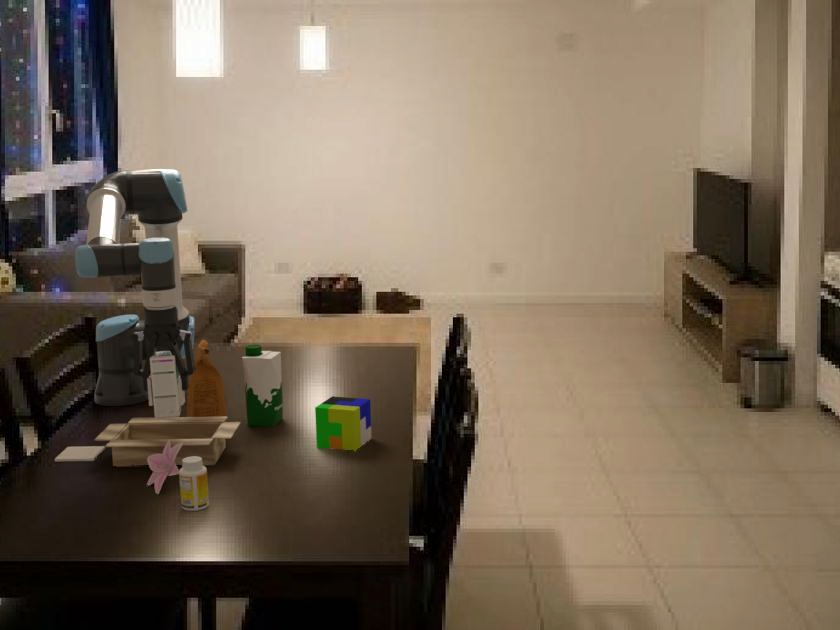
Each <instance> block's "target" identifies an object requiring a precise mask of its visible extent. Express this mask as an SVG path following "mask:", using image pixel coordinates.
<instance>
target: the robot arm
mask: <svg viewBox="0 0 840 630" xmlns="http://www.w3.org/2000/svg"><path fill="white" fill-rule="evenodd" d="M86 200H87V201H86V209H87V212H88V214H89V217H88V228H87V236H86V237H87V238H86V244H84V245H79V246H77V247H75V251H74V252H75V253H74V254H75V255H74V259H75V267H76V269H75V270H76V272H77V276H79V277H81V278H93V279H97V278H104V277H105V278H106V277H121V276H122V277H123V276H127V277H128V276H140V277H141V279H140V280H141V294H142V304H143V307H144V308H143V319H140V318H139V316H138V315H137V314H133V313H132V314H123V315H117V316H111V317H109V318H106V319H104V320H101V321H100V322H98V323H97V325H96V326H95V327H96V328H95V342H96V347H97V363H98V378H97V382H96V386H95V390H94V402H95V404H97V405H100V406H105V407H123V406H129V405H131V406H132V405H137V404H140V403H144V402H146V401H148V406H149V407H154V403H153V391H152V380H151V368H150V357H152V356H153V355H154V354H155V353H156V352H159V351H170V352H171V354H172V355H174V356H175V362H176V366H177V369H178V374H179V377H178V378H177V380H178V394H179V405H181V406H184V404H185V403H186V393H185V392H186V391H188V386H189V376H191V375H192V374H193V373H194V372H195V370H196V369H195V362H194V360H195V357H194V344H195V343H194V342H195V341H194V340H195V317H194V316H191V315H190V312H189V310H188V309H187V307H185V306H184V305H183V291H182V290H183V288H182V274H181V264H180V263H181V262H180V259H181V258H180V248H179V247H180V246H179V232H178V231H179V230H178V225H179V224H180V223H181V221H183V214H186V213H187V212H188V205H187V201H186V193H185V190H184V185H183V178H182V175H181V173H180V172H179V171H178V170H176V169H164V168H155V169H152V168H151V169H136V170H135V169H134V170H119V171H114V172H112V173H109V174H107V175H106V176H104V177H103V178H101V179H100V180H98V181H97V183H95V184H94V185H93V187H91V190H90V191H89V193H88V195H87V199H86ZM126 215H129V216H132V215H133V216H136V215H137V221H138V222H139V223H140V224H141V225H142V226H143V227H144V235H145V238H144V239H142V240H140V241H139V242H128V243H120V242H121V240H120V239H121V222H122V221H121V220H122V216H126ZM184 359H185V361H184ZM143 362H145V363H144V367H143ZM185 362H186V364H185Z"/></svg>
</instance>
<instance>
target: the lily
mask: <svg viewBox="0 0 840 630" xmlns="http://www.w3.org/2000/svg"><path fill="white" fill-rule="evenodd" d="M182 445H183V442H181V443H178V444H176V445H175V446H173V447H172V448H171V444H170V440H168V442H167V444H166V446H165V448H164V450H163V453H162V454H153V455H151V456H149V457H148V458H147V462H148V465H149V466H148V467H149V469H150V470H151V471H152V474H151V475H150V477H149V479H148V481H147V483H146V486H147V485H148V486H147V487H149V486H151V485H153V484H154V492H155V494H156V493H157V494H158V495H159V494H160V492H161V489H162V487H163V484H164V482H165V480H166V478H167V477H169V476H176V475H178V476H179V470H180V469H179V468H178V466H176V464H175V462H174V460H175V457H176V455H177V453H178V452H179V450H180V448H181V446H182ZM173 462H174V463H173Z"/></svg>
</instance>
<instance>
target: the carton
mask: <svg viewBox="0 0 840 630" xmlns="http://www.w3.org/2000/svg"><path fill="white" fill-rule="evenodd" d="M227 420H228V416H227V415H226V417H187V416H181V417H180V416H179V417H168V418H155V417H132V418H131V419H130V420H129V421H128V422H127V423H109V424H108V425H107V426H106V427H105V429H104V430H102V431H101V432H100V433H99V435H97V436H96V438H94V441H95V442H96V441H98V442H103V441H104V442H105V441H107V442H108V441H109V442H108V443H106V445H105V448H111V455H112V456H111V457H112V467H113V466H116V467H132V466H131V465H135V466H134V467H139V466H138V465H148V462H147V458H148V457H149V456H151V455H153V454H162V453H163V450H164V448H165V446H166V444H167V442H168V440H170V444H171V448H172V447H173V446H175V445H176V444H178V443H181V442H183V445H182V446H181V448H180V450H179V452H178V453H177V455H176V457H175V460H174V462H175V464H176V465H182V460H183V459H184V458H186V457H190V456H198V457H201V458H202V463H203V466H215V465H216V463H217V461H218V460H219V459H220V457H221V455H222V454H223V452H224V450H225V448H226V447H227V444H226V440H228V439H229V440H231V439H232V438H233V436H234V435H235V433H236V431H237V430H238V428H239V426H240V424H241V421H227ZM225 421H226V422H225ZM174 462H173V463H174ZM136 465H137V466H136Z"/></svg>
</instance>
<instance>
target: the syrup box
mask: <svg viewBox="0 0 840 630" xmlns="http://www.w3.org/2000/svg"><path fill="white" fill-rule="evenodd" d="M150 368H151V372H150V376H151V380H152V391H153V403H154V405H153V411H154V412H153V413H154V418H168V417H180V416H181V413H182V405H179V394H178V380H177V378H178V377H179V376H180V374H179V371H178V369H177V366H176V362H175V356H174V355H172V354H171V352H170V351H159V352H156V353H155V354H154V355H153V356H152V357H150Z"/></svg>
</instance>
